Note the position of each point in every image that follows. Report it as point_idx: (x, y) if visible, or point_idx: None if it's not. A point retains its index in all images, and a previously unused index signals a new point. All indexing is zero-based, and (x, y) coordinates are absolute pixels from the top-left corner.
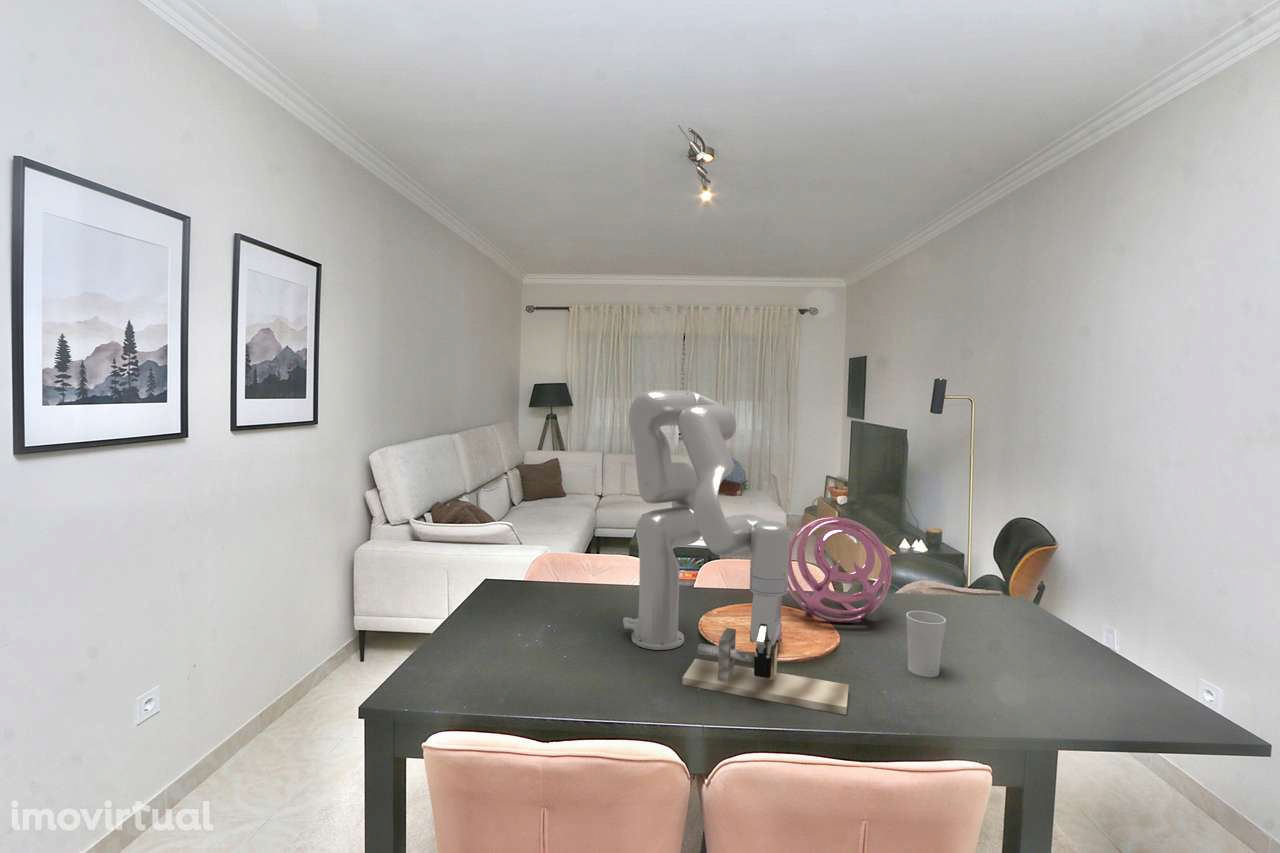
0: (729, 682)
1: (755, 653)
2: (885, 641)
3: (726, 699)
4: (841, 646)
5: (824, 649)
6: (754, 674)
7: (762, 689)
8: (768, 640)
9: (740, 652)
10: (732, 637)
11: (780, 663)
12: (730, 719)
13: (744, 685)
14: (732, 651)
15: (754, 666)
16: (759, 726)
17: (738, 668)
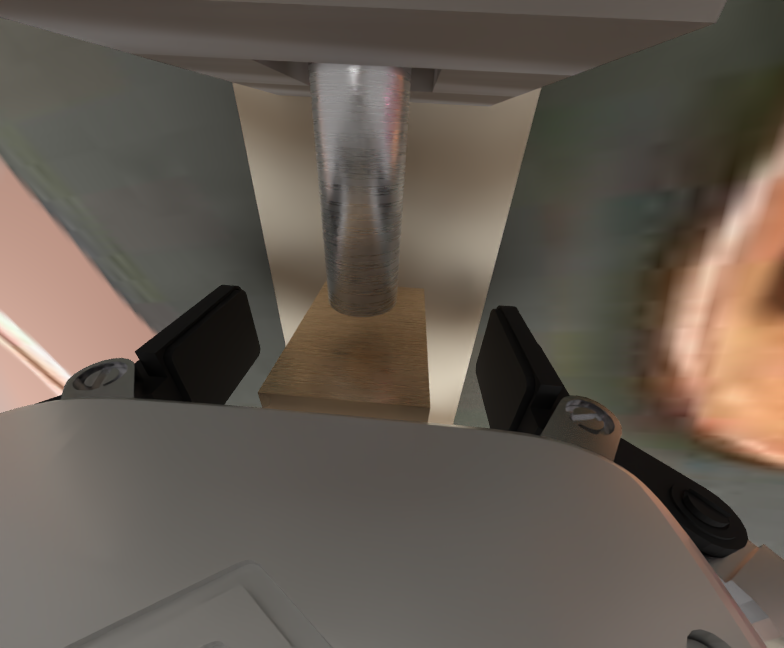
0: (280, 110)
1: (69, 384)
2: (765, 537)
3: (194, 118)
4: (763, 472)
5: (752, 438)
6: (223, 287)
7: (295, 286)
8: (515, 413)
9: (327, 188)
10: (330, 27)
11: (636, 318)
12: (55, 173)
13: (289, 205)
14: (317, 89)
15: (192, 309)
16: (107, 281)
17: (491, 135)
